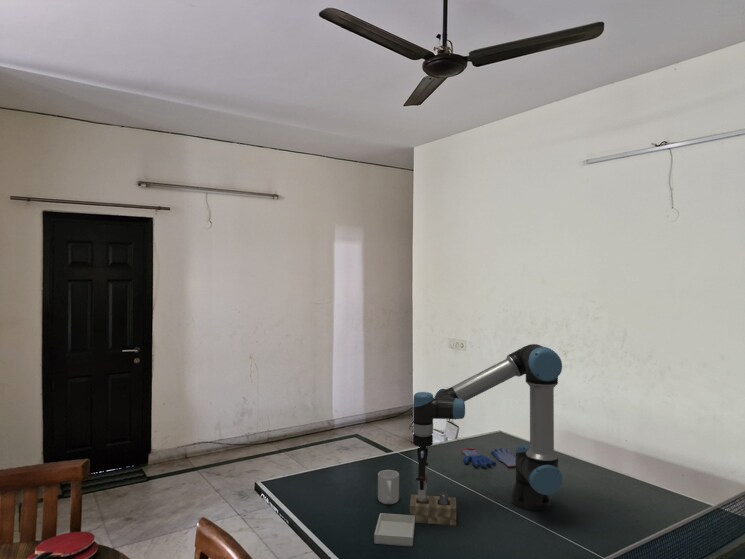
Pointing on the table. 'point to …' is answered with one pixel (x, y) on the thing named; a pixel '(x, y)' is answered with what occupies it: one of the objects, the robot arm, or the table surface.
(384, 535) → the tray
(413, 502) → the block
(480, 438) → the table surface
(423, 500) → the glass vial with cap
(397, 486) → the mug
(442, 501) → the short pin
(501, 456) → the pair of gloves
